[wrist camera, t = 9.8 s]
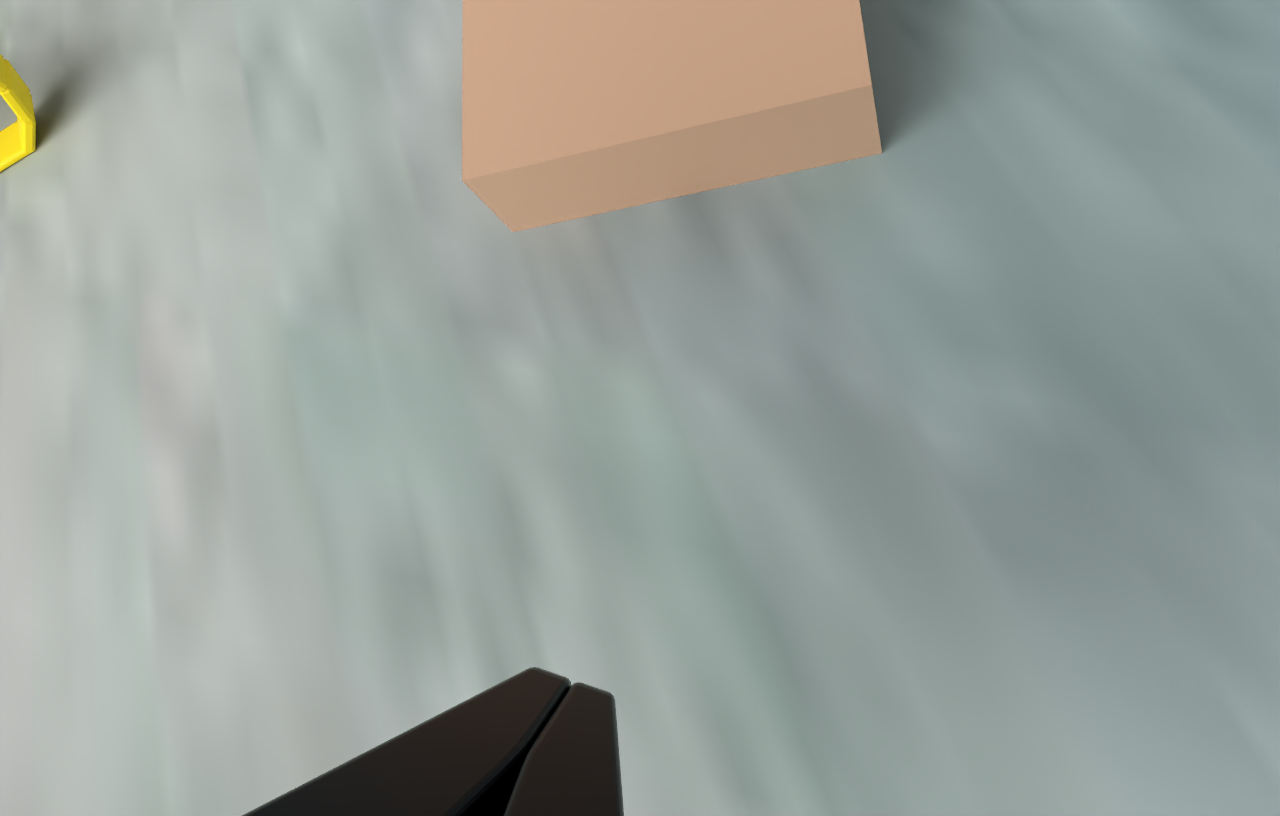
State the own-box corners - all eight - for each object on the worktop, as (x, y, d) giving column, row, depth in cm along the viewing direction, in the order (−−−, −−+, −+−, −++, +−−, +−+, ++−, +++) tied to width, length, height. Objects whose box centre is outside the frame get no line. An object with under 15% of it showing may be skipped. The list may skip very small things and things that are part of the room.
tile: (871, 85, 19) (826, -222, 21) (462, 180, 21) (463, -103, 24) (883, 161, 21) (842, -118, 24) (519, 238, 24) (515, -21, 26)
